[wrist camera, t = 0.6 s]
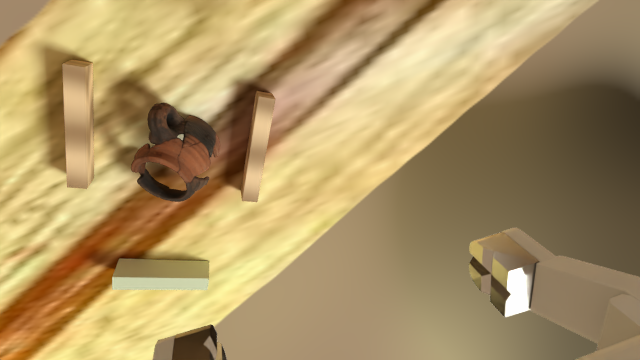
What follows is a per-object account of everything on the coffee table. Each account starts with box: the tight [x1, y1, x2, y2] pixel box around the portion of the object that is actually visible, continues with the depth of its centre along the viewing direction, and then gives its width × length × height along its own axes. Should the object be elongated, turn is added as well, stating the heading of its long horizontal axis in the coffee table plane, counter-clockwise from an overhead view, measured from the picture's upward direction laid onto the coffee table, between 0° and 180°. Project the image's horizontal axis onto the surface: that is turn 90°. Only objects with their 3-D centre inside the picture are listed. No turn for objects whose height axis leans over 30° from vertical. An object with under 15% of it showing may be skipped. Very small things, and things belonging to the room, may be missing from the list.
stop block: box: [112, 258, 209, 290], centre depth 53 cm, size 2×12×4 cm, turn 77°
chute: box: [62, 59, 275, 202], centre depth 46 cm, size 14×22×3 cm, turn 77°
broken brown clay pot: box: [131, 103, 220, 202], centre depth 45 cm, size 12×10×8 cm
